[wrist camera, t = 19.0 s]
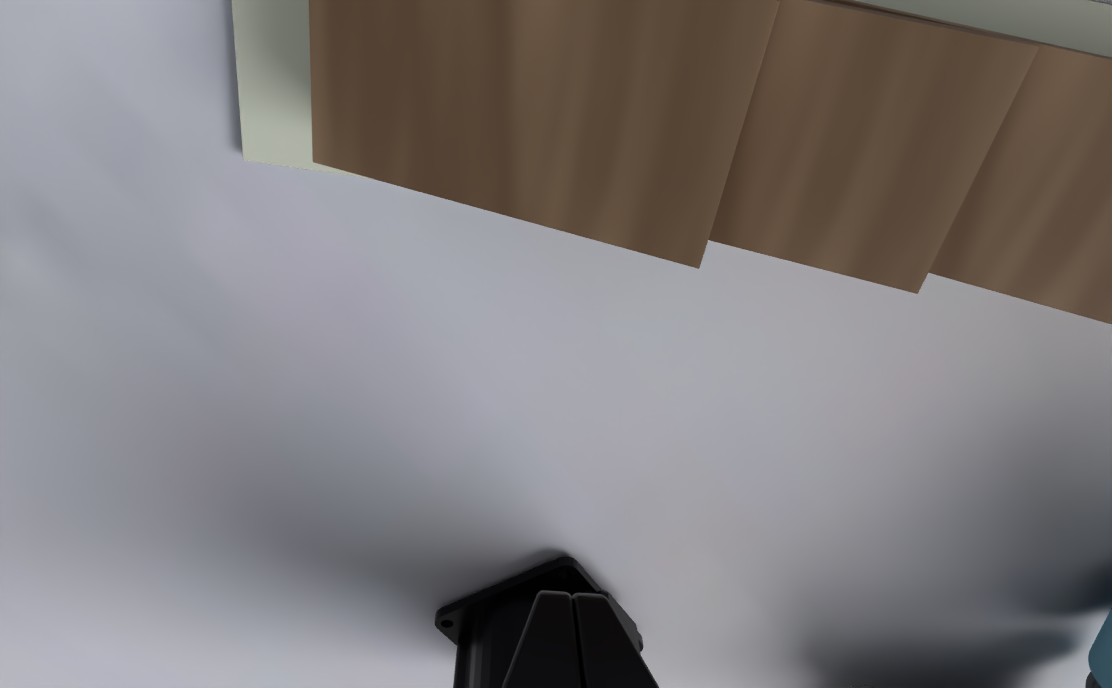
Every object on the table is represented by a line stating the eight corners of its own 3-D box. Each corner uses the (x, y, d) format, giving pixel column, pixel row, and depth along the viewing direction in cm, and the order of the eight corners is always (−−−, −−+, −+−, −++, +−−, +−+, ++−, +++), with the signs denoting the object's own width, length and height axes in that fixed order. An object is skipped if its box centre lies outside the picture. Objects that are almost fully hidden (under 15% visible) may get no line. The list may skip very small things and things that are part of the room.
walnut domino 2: (524, 192, 16) (917, 293, 15) (558, -49, 14) (1038, 46, 12) (543, 174, 18) (906, 266, 16) (578, -49, 15) (1014, 38, 14)
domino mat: (247, 156, 18) (243, 160, 18) (223, -173, 14) (218, -175, 14) (1043, 273, 21) (1049, 278, 20) (1194, 21, 17) (1203, 23, 17)
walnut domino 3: (746, 221, 17) (1144, 333, 15) (824, -4, 14) (1315, 105, 13) (750, 201, 18) (1117, 303, 17) (822, -7, 16) (1266, 91, 14)
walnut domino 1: (312, 162, 16) (699, 268, 14) (306, -95, 13) (779, 1, 12) (350, 146, 17) (707, 242, 15) (351, -90, 14) (781, -3, 13)
